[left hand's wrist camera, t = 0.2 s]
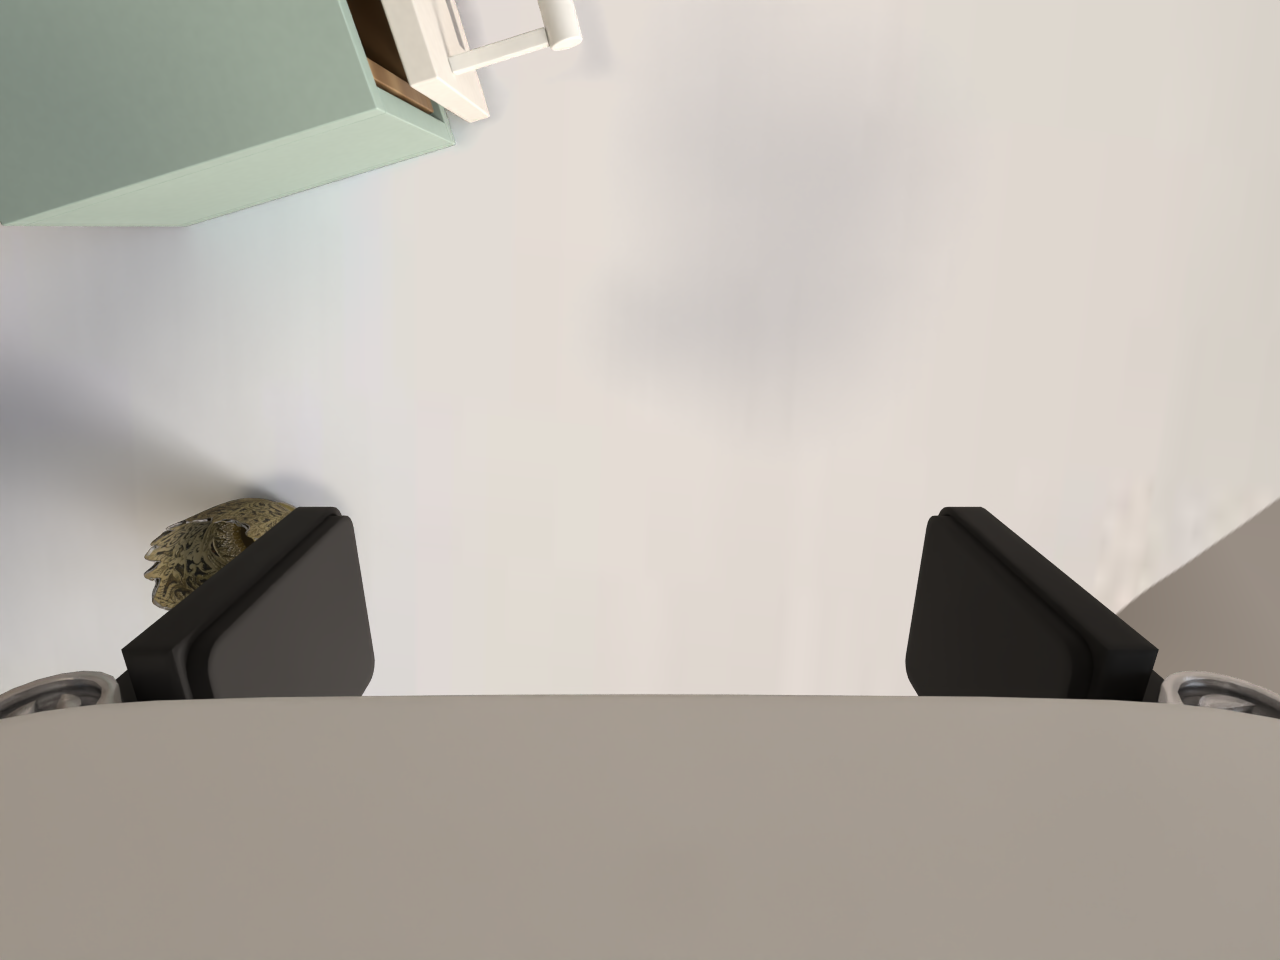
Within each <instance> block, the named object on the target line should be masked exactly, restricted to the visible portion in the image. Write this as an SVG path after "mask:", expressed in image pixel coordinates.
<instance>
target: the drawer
mask: <svg viewBox="0 0 1280 960" xmlns="http://www.w3.org/2000/svg"><path fill="white" fill-rule="evenodd" d="M346 1H347V4H348V7H349V10H350V13H351V15H352V18H353V21H354V24H355V27H356V30H357V32H358V35H359V38H360V41H361V44H362V47H363V49H364V52H365V55H366V58H367V61H368V64H369V66H370V69H371V72H372V75H373V78H374V81H375V83H376V86H377V87H379V88H380V89H382V90H384V91H386V92H388V93H390V94H392V95H393V96H395V97H397V98H399V99H401V100H403V101H405V102H406V103H408V104H410V105H412V106H414V107H416V108H418V109H419V110H421V111H423V112H425V113H427V114H430V113H433V112H434V110H433V107H432V104H431V101H430V99H431V100H433V101H435V102H436V103H438V104H440V105H441V106H443V107H444V108H446V109H448V110H449V111H451V112H452V113H454V114H456V115H457V116H459V117H461V118H462V119H464V120H465V121H467V122H469V123H472V122H475V121H478V120H481V119H485V118H488V117H489V116H490V114H489V111H488V107H487V104H486V101H485V98H484V94H483V91H482V88H481V85H480V81H479V78H478V75H477V72H476V69H479V68H482V67H485V66H488V65H491V64H495V63H498V62H501V61H504V60H507V59H511V58H514V57H517V56H520V55H523V54H526V53H530V52H533V51H536V50H539V49H542V48H546V47H549V46H550V48H551V49H552V50H555V51H559V50H565V49H569V48H571V47H574V46H576V45H578V44H579V43H580V42H581V41H582V34H581V30H580V26H579V22H578V19H577V15H576V11H575V7H574V3H573V0H538V4H539V8H540V12H541V15H542V19H543V23H544V26H545V28H544V27H543V28H539V29H536V30H533V31H530V32H527V33H524V34H521V35H517V36H514V37H511V38H508V39H505V40H502V41H498V42H495V43H492V44H489V45H486V46H483V47H479V48H476V49H473V50H470V49H469V45H468V42H467V39H466V36H465V32H464V29H463V26H462V23H461V19H460V16H459V13H458V9H457V6H456V3H455V0H346Z"/></svg>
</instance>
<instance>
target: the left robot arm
mask: <svg viewBox="0 0 1280 960" xmlns="http://www.w3.org/2000/svg"><path fill="white" fill-rule="evenodd" d="M121 650H122V653H123V657H124V660H125V663H126V666H127V669H128V670H127V671H125V672H124V673H123V674H122V675H121V676H120V677H118V678H117V679H116V680H115V679H114V677H113V676H111V675H108V674H105V673H103V672H94V671H79V672H70V673H62V674H58V675H54V676H50V677H46V678H42V679H38V680H35V681H33V682H30V683H27V684H24V685H22V686H19V687H16V688H14V689H11V690H9V691H7V692H5V693H3V694H1V695H0V960H1280V695H1279V694H1277V693H1275V692H1273V691H1271V690H1269V689H1266V688H1264V687H1261V686H1258V685H1256V684H1253V683H1250V682H1247V681H1245V680H1242V679H1238V678H1234V677H1230V676H1226V675H1222V674H1218V673H1209V672H1201V671H1186V672H1177V673H1175V674H1172V675H1169V676H1167V677H1166V679H1165V680H1164V679H1163V678H1162V677H1160V676H1159V675H1158V674H1157V673H1156V672H1155V671H1153V670H1152V669H1153V666H1154V663H1155V660H1156V657H1157V653H1158V649H1157V648H1156V647H1155V646H1154V645H1152V644H1151V643H1150V642H1149V641H1147V640H1146V639H1145V638H1144V637H1142V636H1141V635H1140V634H1139V633H1137V632H1136V631H1135V630H1134V629H1133V628H1131V627H1130V626H1129V625H1128V624H1126V623H1125V622H1124V621H1123V620H1122V619H1120V618H1119V617H1118V616H1117V615H1115V614H1114V613H1113V612H1112V611H1110V610H1109V609H1108V608H1107V607H1105V606H1104V605H1103V604H1102V603H1101V602H1099V601H1098V600H1097V599H1096V598H1094V597H1093V596H1092V595H1091V594H1089V593H1088V592H1087V591H1086V590H1084V589H1083V588H1082V587H1081V586H1080V585H1078V584H1077V583H1076V582H1075V581H1073V580H1072V579H1071V578H1070V577H1068V576H1067V575H1066V574H1065V573H1064V572H1062V571H1061V570H1060V569H1059V568H1057V567H1056V566H1055V565H1054V564H1052V563H1051V562H1050V561H1049V560H1047V559H1046V558H1045V557H1044V556H1043V555H1041V554H1040V553H1039V552H1038V551H1036V550H1035V549H1034V548H1033V547H1031V546H1030V545H1029V544H1028V543H1026V542H1025V541H1024V540H1023V539H1022V538H1020V537H1019V536H1018V535H1017V534H1015V533H1014V532H1013V531H1012V530H1010V529H1009V528H1008V527H1007V526H1006V525H1004V524H1003V523H1002V522H1001V521H999V520H998V519H997V518H996V517H994V516H993V515H992V514H991V513H989V512H988V511H987V510H986V509H984V508H982V507H945V508H943V509H942V510H941V511H940V513H939V515H938V516H932V517H931V518H930V519H929V521H928V524H927V528H926V534H925V540H924V546H923V553H922V559H921V565H920V571H919V577H918V584H917V590H916V596H915V602H914V608H913V615H912V621H911V627H910V633H909V639H908V646H907V652H906V660H905V662H906V672H907V675H908V678H909V681H910V683H911V684H912V686H913V688H914V689H915V691H916V693H917V694H918V696H831V695H657V694H630V695H436V696H362V694H363V693H364V691H365V689H366V688H367V686H368V684H369V683H370V681H371V678H372V675H373V672H374V662H375V660H374V652H373V646H372V639H371V633H370V627H369V621H368V615H367V608H366V602H365V596H364V590H363V584H362V577H361V571H360V565H359V559H358V553H357V546H356V540H355V534H354V528H353V524H352V521H351V519H350V518H349V517H348V516H342V515H341V513H340V511H339V510H338V509H337V508H335V507H298V508H296V509H294V510H293V511H292V512H291V513H289V514H288V515H287V516H286V517H284V518H283V519H282V520H281V521H279V522H278V523H277V524H276V525H274V526H273V527H272V528H271V529H270V530H268V531H267V532H266V533H265V534H263V535H262V536H261V537H260V538H258V539H257V540H256V541H255V542H254V543H252V544H251V545H250V546H249V547H247V548H246V549H245V550H244V551H242V552H241V553H240V554H239V555H237V556H236V557H235V558H234V559H233V560H231V561H230V562H229V563H228V564H226V565H225V566H224V567H223V568H221V569H220V570H219V571H218V572H216V573H215V574H214V575H213V576H212V577H210V578H209V579H208V580H207V581H205V582H204V583H203V584H202V585H200V586H199V587H198V588H197V589H196V590H194V591H193V592H192V593H191V594H189V595H188V596H187V597H186V598H184V599H183V600H182V601H181V602H179V603H178V604H177V605H176V606H175V607H173V608H172V609H171V610H170V611H168V612H167V613H166V614H165V615H163V616H162V617H161V618H160V619H158V620H157V621H156V622H155V623H154V624H152V625H151V626H150V627H149V628H147V629H146V630H145V631H144V632H142V633H141V634H140V635H139V636H138V637H136V638H135V639H134V640H133V641H131V642H130V643H129V644H128V645H126V646H125V647H124V648H123V649H121Z"/></svg>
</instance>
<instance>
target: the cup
mask: <svg viewBox="0 0 1280 960" xmlns="http://www.w3.org/2000/svg"><path fill="white" fill-rule="evenodd" d="M294 509H296V508H295V507H294V506H292V505H290V504H287V503H283V502H273V501H270V500H266V499H259V498H243V499H238V500H233V501H229V502H226V503H223V504H220V505H217V506H215V507H212V508H210V509H208V510H205V511H203V512H201V513H199V514H196V515H194V516H192V517H190V518H188V519H185V520H183V521H181V522H178V523H176V524H173V525H171V526H169V527H167V528H166V530H167V531H165V532H163V533H162V534H161V535H160V536H159V537H158V538H156V539H155V540H154V541H153V542H152V543H151V546H153V547H151V548H150V550H149V551H148V552H147V554H146V555H145V559H146V560H149V561H151V562H156V563H155V564H154V565H153V566H152V567H151V568H150V569H148V570H147V571H146V572H145V573H144V577H145V578H146V579H149V580H152V581H153V580H154V579H156V580H155V583H156V584H155V587H154V589H153V592H152V602H153V604H154V605H156V606H157V607H159V608H162V609H164V610H168V611H170V610H171V609H172V608H173V607H175V606H176V605H177V604H178V603H179V602H181V601H182V600H183V599H184V598H186V597H187V596H188V595H189V594H191V593H192V592H193V591H194V590H196V589H197V588H198V587H199V586H200V585H202V584H203V583H204V582H205V581H207V580H208V579H209V578H210V577H212V576H213V575H214V574H215V573H216V572H218V571H219V570H220V569H221V568H223V567H224V566H225V565H226V564H228V563H229V562H230V561H231V560H233V559H234V558H235V557H236V556H237V555H239V554H240V553H241V552H242V551H244V550H245V549H246V548H247V547H249V546H250V545H251V544H252V543H254V542H255V541H256V540H257V539H258V538H260V537H261V536H262V535H263V534H265V533H266V532H267V531H268V530H270V529H271V528H272V527H273V526H274V525H276V524H277V523H278V522H279V521H281V520H282V519H283V518H284V517H286V516H287V515H288V514H289V513H291V512H292V511H293V510H294ZM154 545H155V546H154Z"/></svg>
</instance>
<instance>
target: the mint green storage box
mask: <svg viewBox="0 0 1280 960" xmlns="http://www.w3.org/2000/svg"><path fill="white" fill-rule="evenodd" d="M430 101H431V104H432V107H433V110H434V112H433V113H430V114H427V113H425V112H423V111H421V110H419V109H418V108H416V107H414V106H412V105H410V104H408V103H406V102H405V101H403V100H401V99H399V98H397V97H395V96H393V95H392V94H390V93H388V92H386V91H384V90H382V89H380V88H379V87H377V86H376V83H375V81H374V78H373V75H372V72H371V69H370V66H369V64H368V61H367V58H366V55H365V52H364V49H363V47H362V44H361V41H360V38H359V35H358V32H357V30H356V27H355V24H354V21H353V18H352V15H351V13H350V10H349V7H348V4H347V1H346V0H0V222H1V224H2V225H3V226H190V225H193V224H196V223H199V222H203V221H206V220H209V219H213V218H216V217H219V216H222V215H226V214H229V213H232V212H236V211H239V210H242V209H246V208H249V207H252V206H255V205H259V204H262V203H265V202H269V201H272V200H275V199H278V198H282V197H285V196H288V195H292V194H295V193H298V192H301V191H305V190H308V189H311V188H315V187H318V186H321V185H324V184H328V183H331V182H334V181H338V180H341V179H344V178H348V177H351V176H354V175H357V174H361V173H364V172H367V171H371V170H374V169H377V168H380V167H384V166H387V165H390V164H394V163H397V162H400V161H403V160H407V159H410V158H413V157H417V156H420V155H423V154H427V153H430V152H433V151H436V150H440V149H443V148H446V147H450V146H453V145H455V140H454V137H453V134H452V131H451V128H450V125H449V122H448V119H447V116H446V113H445V110H444V107H443V106H441V105H440V104H438V103H436V102H435V101H433V100H431V99H430Z"/></svg>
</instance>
